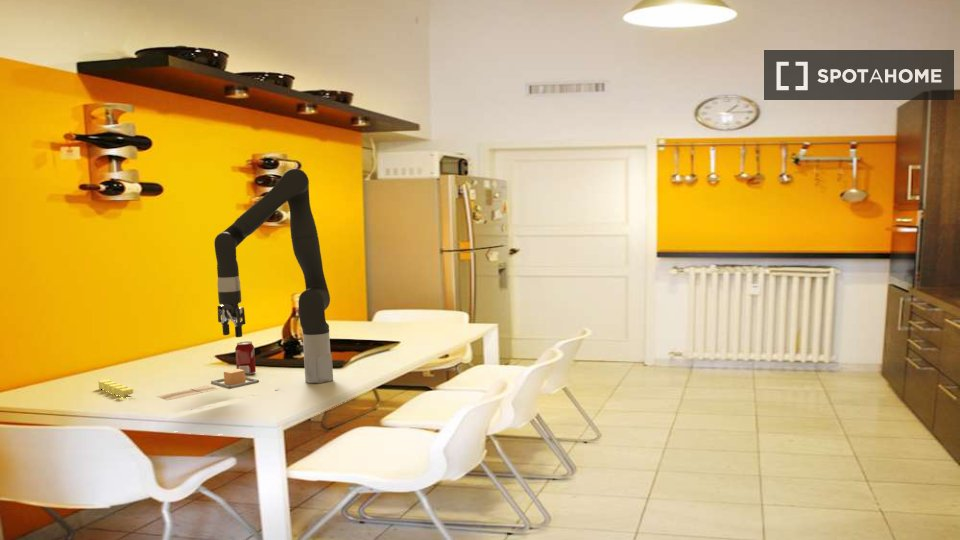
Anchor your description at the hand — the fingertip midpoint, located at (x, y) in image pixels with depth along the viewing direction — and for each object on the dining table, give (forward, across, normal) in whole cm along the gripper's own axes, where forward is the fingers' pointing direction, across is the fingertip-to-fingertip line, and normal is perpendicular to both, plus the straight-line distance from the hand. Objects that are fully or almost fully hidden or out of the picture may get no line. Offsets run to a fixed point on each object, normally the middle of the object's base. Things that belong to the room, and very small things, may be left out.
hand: (232, 336), depth 269 cm
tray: (+18, 0, 0) cm, 18 cm away
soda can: (+18, +15, -13) cm, 27 cm away
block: (+17, 0, 0) cm, 17 cm away
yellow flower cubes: (+18, +28, +28) cm, 44 cm away
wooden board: (+18, 0, +17) cm, 25 cm away
